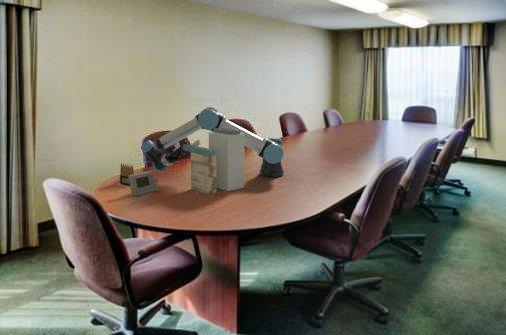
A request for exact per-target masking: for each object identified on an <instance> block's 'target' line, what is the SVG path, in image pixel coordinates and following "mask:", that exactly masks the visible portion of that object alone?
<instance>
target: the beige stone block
mask: <svg viewBox="0 0 506 335" xmlns="http://www.w3.org/2000/svg"><path fill="white" fill-rule="evenodd" d="M190 189H191V190H194V191H197V192H198V193H199V192H200V193H202V194H206V195H209V194H214V193H217V188H216V155H215V156H207V155H203V154H198V153H193V152H190Z"/></svg>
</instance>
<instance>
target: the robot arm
mask: <svg viewBox="0 0 506 335" xmlns="http://www.w3.org/2000/svg"><path fill="white" fill-rule="evenodd" d="M214 128H217V129H221V128H228V129H235V130H240V133H244V134H245V147H246V148H249V149H250V150H252V151H254V152H255V153H256V156H258V157H260V158H262V162H261V165H260V169H259V174H258V175H260V176H262V177H267V178H268V177H269V178H278V177H283V176H284V175H285V174H284V170H283V169H284V168H283V165H282V160H283V157H284V154H285V153H284V149H283V147H282V143H283V142H282V138H279V137H273V138H272V137H264V138H262V137H260V136H258V135H256V134H255V133H253V132H251V131H249V130H247V129H246V128H244V127H241V126H240V125H237V124H235V123H234V122H232V121H230V120H228V119H227V118H226V115H225V114H222V113H220V112H219V111H218V110H217V109H216V108H214V107H211V106H210V107H206V108H204V109H203V110H201V111H200V112H199V113H198V114H196V115H195V116H194V118H192V119H191V120H189V121H187V122H185V123H183V124H181V125H180V126H178V127H176V128H175V129H173V130H171V131H169V132H167V133H165V134H164V135H162V136H160V137H159V138H156V139H155V140H153V141H152V140H150V139H148V140H147V141H146V142H144V143H143V144H142V145H140V149H141V151H143V152H142V153H143V154H145V155H146V156H147V158H148V159H149V160H150V161H151V163H152V169H153V170H154V171H155V172H156V173H157V172H158V173H162V172H163V171H165V170H166V169H167V168H169V167H171V166H172V165H173V164H174V163H176V162H177V161H178V160H179V158H180V157H181V156H186V155H187V154H189V153H190V152H189V151H184V150H183V147H182V148H180V147H181V145H180V141H182V140H184V139H185V138H187V137H189V136H191V135H192V134H195V133H196V132H198V131H200V130H205V131H209V132H214ZM191 145H193V146H198V147H200V145H201V141H200V139H197V140H196V141H194V142H193V143H192V144H191ZM163 150H165V152H163V153H162V151H163Z"/></svg>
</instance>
